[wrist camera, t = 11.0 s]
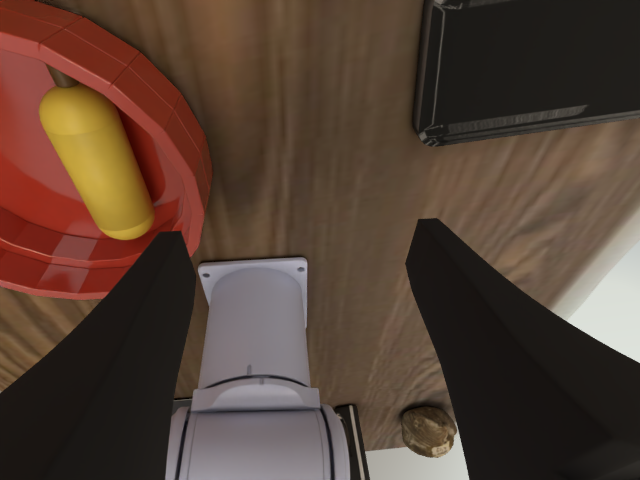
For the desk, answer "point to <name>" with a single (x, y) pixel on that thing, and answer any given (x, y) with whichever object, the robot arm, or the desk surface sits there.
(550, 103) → the phone
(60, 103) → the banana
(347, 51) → the desk surface
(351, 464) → the battery charger
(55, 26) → the bowl
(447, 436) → the fossilized seashell
